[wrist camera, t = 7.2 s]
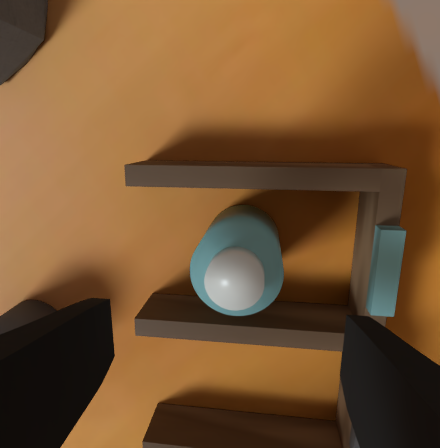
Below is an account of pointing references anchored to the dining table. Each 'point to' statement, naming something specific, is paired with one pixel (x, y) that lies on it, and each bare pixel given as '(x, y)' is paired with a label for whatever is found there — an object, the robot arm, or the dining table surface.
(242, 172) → the brown divided sorting rack
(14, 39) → the coffeepot
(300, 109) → the dining table surface
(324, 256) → the dining table surface
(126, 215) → the dining table surface
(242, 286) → the teal rounded piece
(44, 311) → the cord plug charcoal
